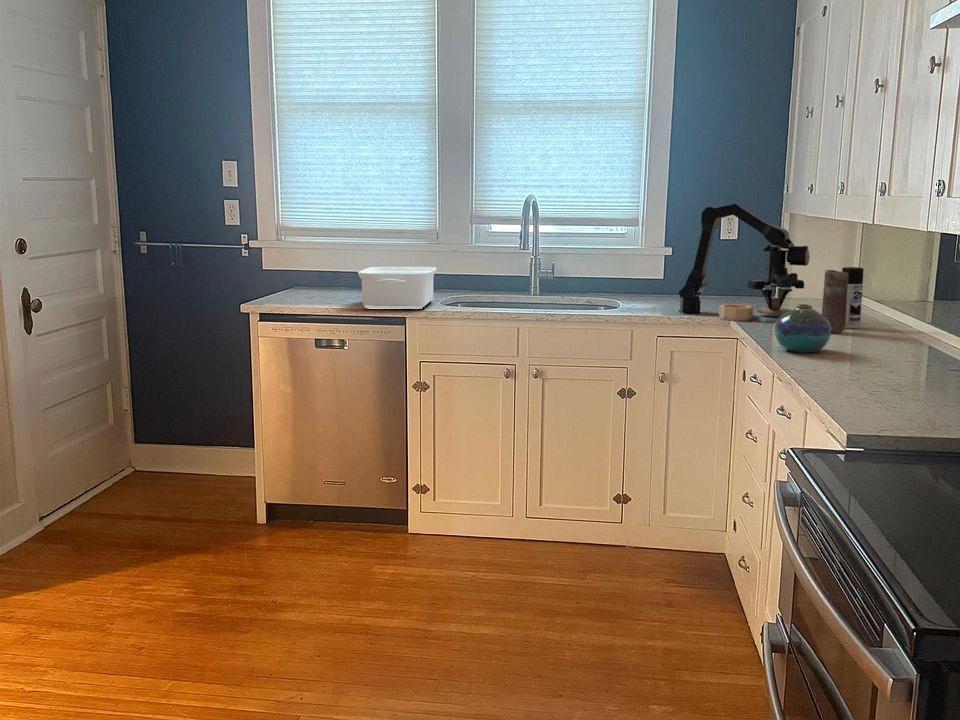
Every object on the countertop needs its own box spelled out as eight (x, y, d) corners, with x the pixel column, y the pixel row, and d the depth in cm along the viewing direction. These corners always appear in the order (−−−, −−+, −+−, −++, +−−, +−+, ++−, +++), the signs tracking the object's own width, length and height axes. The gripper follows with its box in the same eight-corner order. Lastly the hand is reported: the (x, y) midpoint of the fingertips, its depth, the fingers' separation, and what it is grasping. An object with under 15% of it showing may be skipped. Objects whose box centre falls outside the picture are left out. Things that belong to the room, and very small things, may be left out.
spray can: (850, 329, 292) (854, 269, 288) (833, 327, 298) (837, 267, 294) (864, 328, 295) (868, 268, 291) (847, 325, 301) (851, 266, 297)
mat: (764, 322, 309) (764, 319, 309) (748, 316, 322) (749, 314, 321) (799, 321, 310) (800, 318, 310) (783, 316, 323) (783, 313, 323)
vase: (841, 354, 251) (845, 307, 249) (794, 357, 247) (798, 309, 244) (807, 344, 266) (810, 300, 263) (762, 347, 261) (765, 303, 259)
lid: (765, 314, 309) (766, 301, 308) (751, 310, 320) (752, 296, 319) (797, 314, 310) (798, 300, 309) (782, 309, 322) (783, 296, 321)
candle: (826, 329, 293) (831, 269, 289) (848, 332, 287) (853, 270, 284) (816, 332, 287) (820, 270, 283) (838, 335, 282) (843, 272, 278)
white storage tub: (373, 300, 374) (372, 265, 372) (440, 301, 371) (439, 266, 369) (353, 312, 341) (352, 274, 338) (427, 312, 338) (426, 274, 335)
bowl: (727, 321, 312) (727, 308, 311) (715, 316, 322) (716, 304, 321) (756, 320, 313) (756, 307, 312) (743, 316, 323) (744, 304, 322)
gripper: (761, 267, 303) (758, 312, 306) (813, 266, 305) (810, 311, 308) (748, 264, 314) (745, 307, 317) (798, 263, 316) (795, 306, 319)
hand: (774, 308), depth 315 cm, fingers closed on lid, 3 cm apart
